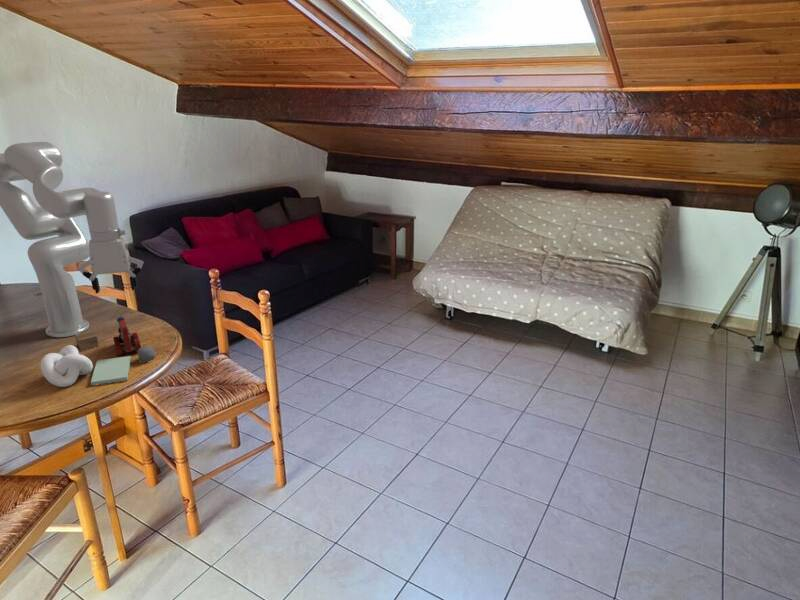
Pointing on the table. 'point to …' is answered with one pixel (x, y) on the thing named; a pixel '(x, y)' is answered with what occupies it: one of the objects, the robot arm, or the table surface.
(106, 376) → the board
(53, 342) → the table surface
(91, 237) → the robot arm
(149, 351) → the grey rounded pebble
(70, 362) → the white knot
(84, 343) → the walnut block
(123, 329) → the red wheeled piece
